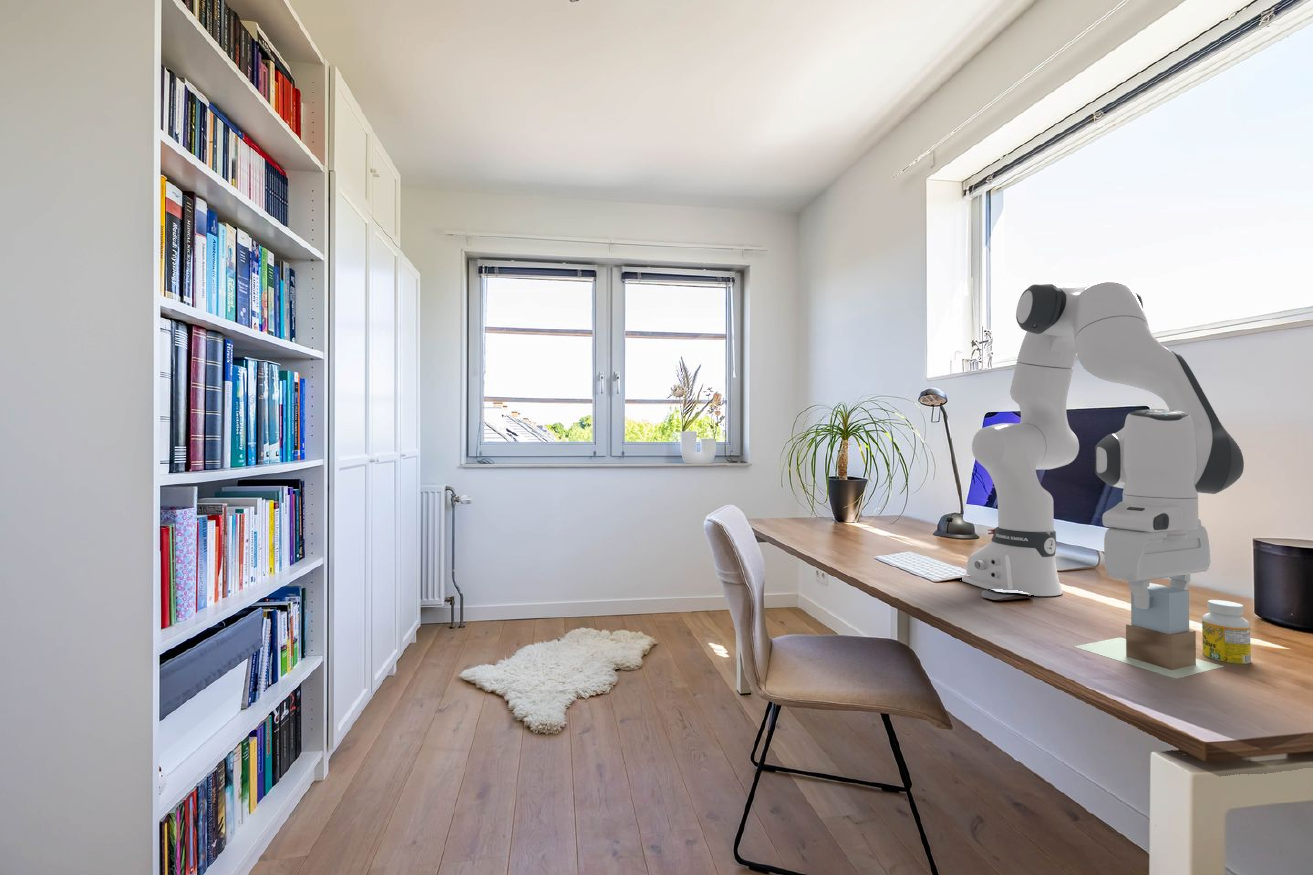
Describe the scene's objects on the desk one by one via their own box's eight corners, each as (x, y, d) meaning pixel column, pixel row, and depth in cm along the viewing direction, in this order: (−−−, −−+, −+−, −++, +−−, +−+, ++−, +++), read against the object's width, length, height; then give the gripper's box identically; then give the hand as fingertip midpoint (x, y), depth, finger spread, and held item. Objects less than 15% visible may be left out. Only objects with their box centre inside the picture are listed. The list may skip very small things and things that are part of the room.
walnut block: (1126, 656, 91) (1125, 624, 91) (1149, 651, 94) (1149, 619, 94) (1172, 670, 86) (1171, 635, 86) (1195, 664, 88) (1195, 630, 88)
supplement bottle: (1258, 673, 88) (1258, 609, 88) (1212, 668, 90) (1212, 605, 90) (1238, 661, 93) (1238, 600, 93) (1195, 656, 95) (1195, 597, 95)
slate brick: (1131, 624, 91) (1131, 585, 91) (1150, 620, 93) (1150, 583, 93) (1169, 634, 87) (1169, 593, 87) (1189, 630, 88) (1188, 590, 88)
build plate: (1073, 653, 96) (1073, 646, 96) (1120, 644, 100) (1120, 637, 100) (1176, 686, 83) (1176, 678, 83) (1224, 674, 87) (1224, 666, 87)
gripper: (1175, 509, 97) (1175, 593, 97) (1094, 515, 89) (1095, 606, 89) (1223, 513, 91) (1224, 603, 91) (1142, 520, 83) (1142, 618, 83)
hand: (1159, 605), depth 90 cm, fingers open, 7 cm apart
